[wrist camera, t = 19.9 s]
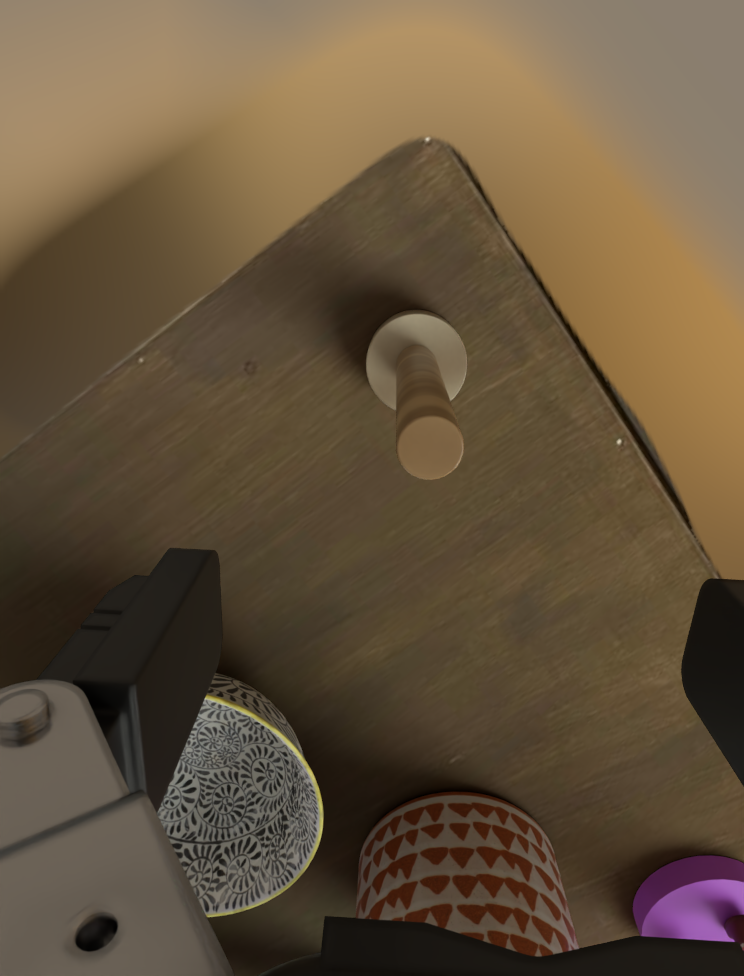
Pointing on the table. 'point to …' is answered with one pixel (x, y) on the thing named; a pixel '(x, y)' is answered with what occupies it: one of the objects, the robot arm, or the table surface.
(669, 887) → the figurine
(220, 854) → the bowl
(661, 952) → the robot arm
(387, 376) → the wooden peg stand
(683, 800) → the table surface
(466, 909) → the plant pot
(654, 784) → the table surface
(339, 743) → the table surface
